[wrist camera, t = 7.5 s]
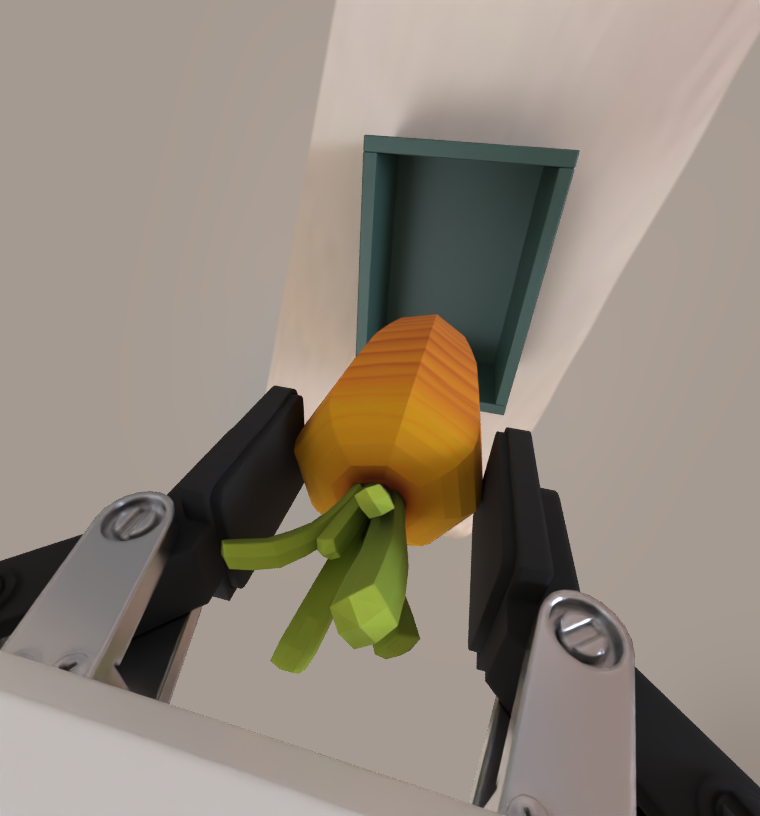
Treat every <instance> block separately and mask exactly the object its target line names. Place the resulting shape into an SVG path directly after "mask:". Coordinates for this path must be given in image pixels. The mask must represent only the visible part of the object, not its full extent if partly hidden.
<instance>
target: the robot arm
mask: <svg viewBox="0 0 760 816" xmlns="http://www.w3.org/2000/svg"><path fill="white" fill-rule="evenodd" d="M303 427H304V406H303V398H302V396H300V395H298V394H297V391H296V390H295V389H291V388H286V387H280V386H273V387H272V388H271V389H270V390H269V391H268V392H267V393H266V394H265V395H264V396H263V397H262V398H261V399H260V400H259V401H258V402H257V403H256V405H254V406H253V408H252V409H251V410H250V411H249V412H248V413H247V414H246V415H245V416H244V417H243V418H242V419H241V420H240V421H239V422H238V423H237V424H236V425H235V426H234V427H233V428H232V429H231V430H229V431H228V432H227V433H226V434H225V435H224V436H223V437H222V439H221V440H220V441H218V443H217V444H216V445H215V446H214V447H213V448H212V449H211V450H210V451H209V452H208V453H207V454H206V455H205V456H204V457H203V458H202V459H201V460H200V461H199V462H198V463H197V464H196V465H195V466H194V468H193V469H192V470H191V471H190V472H189V473H188V474H187V475H186V476H185V477H184V478H183V479H182V480H181V481H180V482H179V483H178V484H177V485H176V486H175V487H174V488H173V489H172V490H171V491H170V492H169V493H168V494H167V495H165V494H163V493H160V492H153V491H147V492H138V493H134V494H131V495H127V496H125V497H122V498H120V499H118V500H116V501H114V502H112V503H111V504H110V505H108V506H107V507H105V508H104V509H103V510H102V511H101V512H100V513H99V514H98V515H97V516H96V517H95V519H94V520H93V521H92V523H91V524H90V526H89V527H88V528H87V530H86V531H85V533H84V534H82V535H79V536H76V537H73V538H70V539H67V540H64V541H60V542H58V543H54V544H51V545H48V546H45V547H42V548H39V549H36V550H33V551H30V552H27V553H23V554H20V555H17V556H15V557H11V558H9V559H5V560H2V561H0V816H760V787H759V786H758V785H757V784H756V783H755V782H754V781H753V780H752V779H751V778H750V777H749V776H747V775H746V774H745V773H744V772H743V771H742V770H741V769H740V768H739V767H738V766H737V765H736V764H735V763H734V762H733V761H732V760H731V759H730V758H729V757H728V756H727V755H726V754H725V753H724V752H723V751H721V750H720V748H718V747H717V746H716V745H715V744H714V743H713V742H712V741H711V740H710V739H709V738H708V737H707V736H706V735H705V734H704V733H703V732H702V731H701V730H700V729H699V728H698V727H697V726H696V725H695V724H694V723H693V722H692V721H691V720H690V719H689V718H687V717H686V716H685V715H684V714H683V713H682V712H681V711H680V710H679V709H678V708H677V707H676V706H675V705H674V704H673V703H672V702H671V701H670V700H669V699H668V698H667V697H666V696H665V695H664V694H663V693H661V691H660V690H658V689H657V688H656V687H655V686H654V685H653V684H652V683H651V682H650V681H649V680H648V679H647V678H646V677H645V676H644V675H643V674H642V673H641V672H640V671H639V670H638V669H637V668H636V667H635V654H634V648H633V643H632V639H631V637H630V635H629V633H628V631H627V629H626V627H625V626H624V625H623V623H622V622H621V621H620V619H619V618H618V617H617V616H616V614H615V613H613V612H612V611H611V610H610V609H609V608H608V607H607V606H605V605H604V604H603V603H602V602H600V601H598V600H596V599H595V598H593V597H591V596H590V595H587V594H584V593H581V592H580V590H579V584H578V580H577V575H576V570H575V566H574V562H573V557H572V552H571V548H570V543H569V539H568V534H567V530H566V525H565V520H564V516H563V511H562V507H561V502H560V498H559V495H558V493H557V492H556V491H554V490H549V489H544V488H540V484H539V478H538V472H537V466H536V460H535V454H534V448H533V442H532V436H531V432H530V431H525V430H519V429H514V428H508V427H507V428H506V429H505V432H504V433H503V432H496V435H495V438H494V442H493V445H492V449H491V452H490V456H489V459H488V463H487V466H486V470H485V473H484V477H483V486H482V497H481V503H480V505H479V507H478V509H477V511H476V512H474V515H473V528H472V556H471V581H470V582H471V583H470V607H469V633H468V634H469V636H468V649H469V650H471V651H474V652H477V669H478V670H482V671H485V681H486V682H487V684H488V685H489V686H490V688H491V689H492V691H493V692H494V693H495V695H496V698H495V703H494V706H493V710H492V714H491V718H490V722H489V725H488V729H487V733H486V737H485V741H484V745H483V749H482V753H481V757H480V761H479V765H478V768H477V772H476V776H475V780H474V784H473V788H472V792H471V795H470V799H469V803H466V802H463V801H460V800H457V799H454V798H451V797H448V796H445V795H442V794H439V793H436V792H433V791H430V790H427V789H424V788H421V787H418V786H415V785H412V784H409V783H406V782H403V781H400V780H397V779H394V778H391V777H388V776H385V775H382V774H379V773H376V772H373V771H370V770H367V769H364V768H361V767H358V766H355V765H352V764H349V763H346V762H343V761H340V760H337V759H334V758H331V757H328V756H325V755H322V754H319V753H316V752H313V751H310V750H307V749H304V748H301V747H298V746H295V745H292V744H289V743H285V742H283V741H280V740H276V739H274V738H271V737H267V736H265V735H261V734H258V733H255V732H252V731H249V730H246V729H243V728H240V727H237V726H234V725H231V724H228V723H225V722H221V721H219V720H216V719H213V718H210V717H207V716H204V715H200V714H198V713H194V712H191V711H188V710H185V709H182V708H179V707H176V706H173V705H170V701H171V698H172V695H173V692H174V689H175V686H176V683H177V680H178V677H179V674H180V671H181V669H182V665H183V662H184V660H185V657H186V654H187V651H188V648H189V645H190V642H191V639H192V636H193V633H194V630H195V627H196V624H197V621H198V618H199V616H200V612H201V609H202V606H203V605H205V604H208V603H209V601H210V599H211V598H212V596H213V597H217V598H221V599H224V600H228V601H230V599H231V597H232V596H233V594H234V592H235V591H236V589H237V588H240V589H241V588H243V587H244V586H245V585H246V584H247V582H248V580H249V578H250V577H251V575H252V573H253V572H254V570H239V569H229V567H228V565H227V564H226V562H225V560H224V558H223V556H222V555H221V547H222V540H228V539H254V538H268V537H272V536H274V535H275V533H276V531H277V529H278V528H279V526H280V524H281V522H282V521H283V519H284V517H285V515H286V514H287V512H288V510H289V508H290V507H291V505H292V503H293V501H294V500H295V498H296V496H297V494H298V493H299V491H300V489H301V487H302V485H303V484H304V480H303V477H302V474H301V471H300V468H299V465H298V462H297V459H296V456H295V453H294V447H295V441H296V439H297V437H298V435H299V433H300V431H301V430H302V428H303Z"/></svg>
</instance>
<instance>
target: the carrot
mask: <svg viewBox="0 0 760 816" xmlns="http://www.w3.org/2000/svg"><path fill="white" fill-rule="evenodd" d="M294 453H295V456H296V459H297V462H298V465H299V468H300V471H301V474H302V477H303V480H304V483H305V485H306V488H307V491H308V494H309V497H310V500H311V503H312V505H313V506H314V508H315V509H316V510H317V511H318V512H320V513H321V514H322V515H321V516H320V517H318V518H317V519H316V520H314V521H313V522H312V523H309V524H307V525H304V526H301V527H299V528H296V529H294V530H291V531H288V532H285V533H282V534H278V535H275V536H272V537H268V538H254V539H228V540H222V547H221V555H222V556H223V558H224V560H225V562H226V564H227V565H228V567H229V569H239V570H260V569H272V568H281V567H283V566H285V565H287V564H289V563H292V562H294V561H296V560H298V559H301V558H303V557H305V556H307V555H308V554H310V553H312V552H313V551H315V550H318V551H319V552H320V554H321V555H322V556H324V557H326V558H328V560H327V561H326V563H325V565H324V566H323V568H322V570H321V572H320V573H319V575H318V577H317V578H316V580H315V582H314V583H313V585H312V587H311V589H310V590H309V592H308V594H307V595H306V597H305V599H304V600H303V602H302V604H301V605H300V607H299V609H298V610H297V612H296V614H295V616H294V617H293V619H292V621H291V623H290V624H289V626H288V628H287V629H286V631H285V633H284V635H283V636H282V638H281V640H280V642H279V644H278V646H277V648H276V650H275V652H274V654H273V656H272V658H271V662H272V663H274V664H275V665H276V666H277V667H279V669H282V670H285V671H289V672H292V673H301V672H302V671H304V670H305V669H306V668H307V666H308V664H309V663H310V662H311V660H312V659H313V657H314V656H315V654H316V652H317V650H318V648H319V646H320V644H321V642H322V640H323V638H324V636H325V634H326V632H327V630H328V628H329V626H330V624H331V622H332V619H334V622H335V625H336V628H337V631H338V634H339V635H340V636H341V637H342V638H343V639H345V640H346V642H347V643H348V644H349V645H350V646H351V647H352V648H353V649H357V648H361V647H364V646H368V645H372V644H373V648H374V652H375V654H376V655H378V656H380V657H382V658H384V659H388V658H392V657H396V656H400V655H402V654H404V653H406V652H408V651H410V650H411V649H412V647H414V645H415V644H416V643H417V642H418V640H419V639H420V637H419V634H418V630H417V627H416V624H415V621H414V617H413V614H412V612H411V609H410V606H409V604H408V601H407V599H406V596H405V594H406V584H407V576H408V552H407V545H411V546H424V545H427V544H430V543H431V542H433V541H434V540H436V539H437V538H439V537H440V536H441V535H443V534H444V533H446V532H447V531H449V530H450V529H451V528H453V527H454V526H456V525H457V524H459V523H460V522H462V521H463V520H464V519H466V518H467V517H469V516H470V515H472V514H473V513H474V512H476V511H477V509H478V507H479V505H480V503H481V497H482V486H483V476H482V443H481V424H480V404H479V387H478V375H477V363H476V360H475V358H474V355H473V353H472V350H471V348H470V346H469V344H468V342H467V340H466V338H465V336H464V335H462V334H461V333H460V332H459V331H457V330H456V329H455V328H454V327H452V326H451V325H450V324H449V323H447V322H446V321H445V320H444V319H442V318H441V317H440V316H439V315H437V314H433V315H422V316H412V317H402V318H400V319H398V320H396V321H394V322H392V323H390V324H388V325H387V326H386V327H384V328H383V329H381V330H380V331H378V332H377V333H376V334H375V335H374V336H373V337H372V338H371V340H370V341H369V342H368V343H367V344H366V346H365V347H364V348H363V349H362V350H361V351H360V353H359V354H358V355H357V356H356V358H355V359H354V360H353V362H352V363H351V364H350V366H349V367H348V368H347V370H346V371H345V372H344V374H343V375H342V376H341V378H340V379H339V380H338V382H337V383H336V384H335V386H334V387H333V388H332V390H331V391H330V392H329V393H328V395H327V396H326V397H325V399H324V400H323V401H322V403H321V404H320V405H319V407H318V408H317V409H316V411H315V412H314V413H313V415H312V416H311V417H310V419H309V420H308V421H307V423H306V424H305V426H304V427H303V428H302V430H301V431H300V433H299V435H298V437H297V439H296V441H295V447H294Z"/></svg>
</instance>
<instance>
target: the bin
mask: <svg viewBox="0 0 760 816" xmlns="http://www.w3.org/2000/svg"><path fill="white" fill-rule="evenodd" d="M579 152H580V151H579V150H569V149H555V148H541V147H527V146H513V145H500V144H486V143H472V142H458V141H444V140H431V139H417V138H403V137H389V136H375V135H364V153H363V176H362V203H361V230H360V257H359V285H358V312H357V339H356V356H357V355H358V354H359V353H360V351H361V350H362V349H363V348H364V347H365V346H366V344H367V343H368V342H369V341H370V340H371V338H372V337H373V336H374V335H375V334H376V333H377V332H378V331H380V330H381V329H383V328H384V327H386V326H387V325H388V324H390V323H392V322H394V321H396V320H398V319H400V318H402V317H412V316H422V315H433V314H437V315H439V316H440V317H441V318H442V319H444V320H445V321H446V322H447V323H449V324H450V325H451V326H452V327H454V328H455V329H456V330H457V331H459V332H460V333H461V334H462V335H464V336H465V338H466V340H467V342H468V344H469V346H470V348H471V350H472V353H473V355H474V358H475V360H476V363H477V375H478V387H479V404H480V411H483V412H488V413H494V414H500V415H504V412H505V409H506V405H507V402H508V398H509V395H510V392H511V388H512V385H513V381H514V378H515V374H516V371H517V367H518V364H519V360H520V357H521V353H522V350H523V346H524V343H525V340H526V336H527V333H528V329H529V326H530V322H531V319H532V315H533V312H534V308H535V305H536V301H537V298H538V294H539V291H540V287H541V284H542V281H543V277H544V274H545V270H546V267H547V263H548V260H549V256H550V253H551V249H552V246H553V242H554V239H555V235H556V232H557V229H558V225H559V222H560V218H561V215H562V211H563V208H564V204H565V201H566V197H567V194H568V190H569V187H570V183H571V180H572V177H573V173H574V168H575V166H576V163H577V159H578V156H579Z"/></svg>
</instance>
